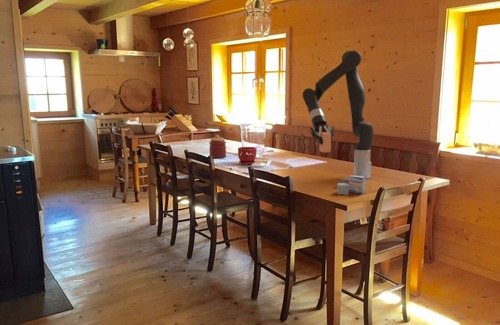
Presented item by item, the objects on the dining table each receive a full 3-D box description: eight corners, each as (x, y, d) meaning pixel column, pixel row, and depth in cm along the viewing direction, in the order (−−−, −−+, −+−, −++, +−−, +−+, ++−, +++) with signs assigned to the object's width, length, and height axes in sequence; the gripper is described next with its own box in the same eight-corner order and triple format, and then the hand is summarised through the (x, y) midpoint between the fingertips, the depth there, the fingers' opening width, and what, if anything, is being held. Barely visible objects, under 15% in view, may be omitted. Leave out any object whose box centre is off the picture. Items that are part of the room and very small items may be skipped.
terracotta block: (327, 150, 232) (327, 132, 230) (330, 152, 227) (331, 133, 225) (319, 151, 230) (319, 132, 229) (322, 152, 226) (323, 133, 224)
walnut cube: (346, 185, 239) (347, 177, 238) (352, 187, 235) (352, 178, 234) (339, 186, 237) (339, 177, 236) (345, 188, 233) (345, 179, 232)
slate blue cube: (346, 192, 225) (346, 183, 224) (348, 194, 220) (348, 185, 219) (337, 192, 225) (337, 183, 224) (338, 194, 220) (339, 185, 219)
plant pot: (256, 165, 299) (256, 148, 296) (237, 165, 299) (237, 148, 297) (256, 162, 311) (256, 146, 309) (238, 162, 312) (238, 146, 310)
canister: (208, 156, 338) (207, 134, 335) (224, 155, 342) (223, 133, 339) (211, 159, 326) (211, 136, 323) (228, 158, 330) (227, 135, 326)
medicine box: (347, 192, 225) (348, 176, 223) (351, 190, 228) (351, 174, 227) (362, 194, 220) (363, 177, 219) (365, 192, 224) (366, 176, 222)
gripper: (307, 114, 231) (316, 139, 221) (332, 113, 234) (341, 138, 225) (303, 123, 237) (312, 148, 227) (327, 122, 240) (336, 147, 231)
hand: (326, 143), depth 226 cm, fingers closed on terracotta block, 4 cm apart
